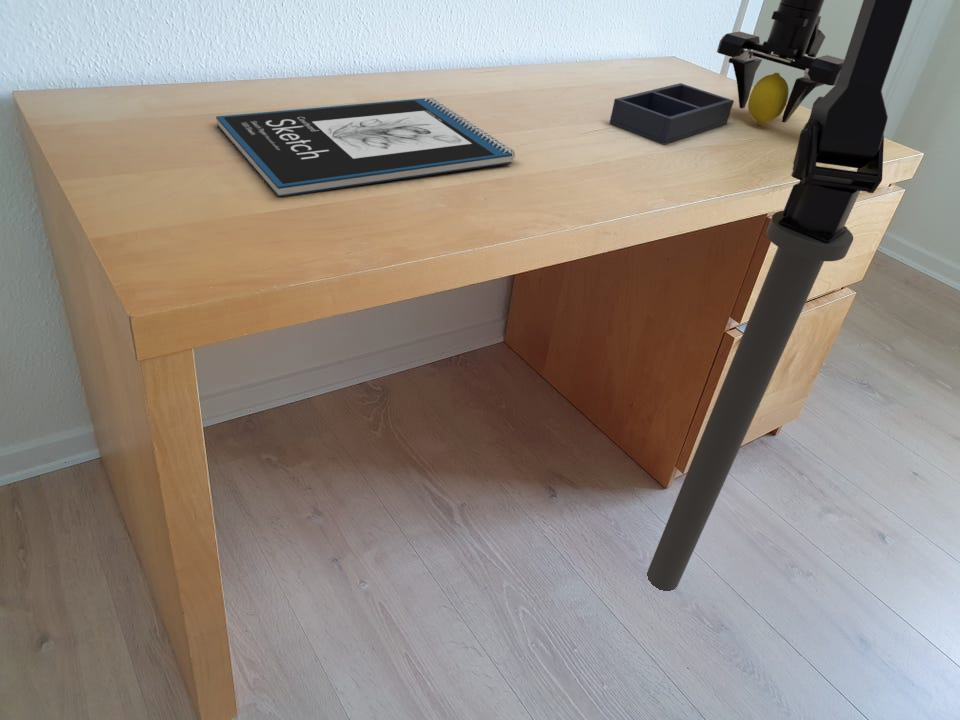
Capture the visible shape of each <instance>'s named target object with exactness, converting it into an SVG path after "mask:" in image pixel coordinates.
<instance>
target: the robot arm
mask: <svg viewBox="0 0 960 720" xmlns="http://www.w3.org/2000/svg"><path fill="white" fill-rule="evenodd" d="M824 2H825V0H780V2H779V4H778V7H777V10H774V11H773V13H772V15H771V20H773V22H772V26H771V29H770V32H769V35H768V38H767V40H764V41H763V43H761V41H760V36H758V35H756V34H755V35H754V34H751V33H747V32H743V31H740V30H739V31H734V32H728V33H725V34H724V35H723V36H722V37H721V39H719V42H718V45H717V49H716V53H718V54H719V55H722V56H723V55H724V56H726V57H730V58H728V63H729V64H732V66H733V71H734V75H735V80H736V84H737V85H736V87H737V96H738V97H737V98H738V105H739V109H741V110H742V109H745V108H746V106H747V104H748V103H747V102H749V98H750V94H751V92H752V86H753V83H754V80H755V75H756V73H757V70H758V69H759V67H760V65H761V63H762V61H763V60H766V61H770V62H773V63H777V64H779V65H780V64H781V65H784V66H787V67H791V68H795V69H798V70H801V71H804V73H803V74H804V75H803V76H802V77H797V78H796V79H795V81H794V84H793V86H792V89H791V92H790V95H789V96H788V100H787V103H786V106H785V108H784V110H783V115H782V119H781V123H783V124H784V123H787V122H788V121H789V120H790V118H791V117H792V116H793V114H794V113H795V111H796V110H797V109H798V108H799V106H800V105H801V104H802V103H803V101H804V100H805V99H806V97H808V95H809V94H811V92H812V91H814V89H816V88H817V87H822V86H825V85H826V86H832V88H831V89H830V90H829V91H828V92H827V93H826V94H825V95H823V96H818V97H817V98H816V99H815V100H814V101H813V103H812V107H811V111H810V115H809V117H808V120H807V122H806V123H805V125H804V126H803V129H802V130H801V131H800V133H799V137H798V143H797V147H796V151H795V155H794V159H793V166H792V172H791V177H792V178H793V179H796V180H799V182H797V183H796V184H793V186H792V188H791V191H790V193H789V196H788V198H787V201H786V203H785V206H784V208H783V210H784V211H783V210H782V211H783V213H782V214H783V216H785V217H784V218H782V219H780V220H779V223H778V224H779V225H781V226H784V227H786V228H789V229H791V230H794V231H796V232H798V233H801V234H803V235H806V236H808V237H811V238H813V239H815V240H818V241H820V242H823V243H826V244H828V243H830V242H831V241H833V240H834V239H836V238H837V237H839V236H840V235H842V234H843V233H845V232H846V230H847V229H848V227H847V226H846V224H847V221H848V219H849V217H850V215H851V212H852V211H853V208H854V206H855V204H856V201H857V199H858V197H859V196H860V193H861V192H866V193H868V194H874V193H875V191H876V190H877V188H878V187H879V186H880V184H881V183H882V181H883V168H884V149H885V148H884V147H885V146H884V143H885V135H884V134H885V130H886V128H887V123H888V119H889V116H888V112H887V108H886V104H885V100H884V96H883V95H884V94H883V87H884V84H885V81H886V79H887V76H888V73H889V71H890V67H891V64H892V61H893V58H894V56H895V53H896V50H897V47H898V44H899V42H900V38H901V35H902V32H903V30H904V26H905V24H906V21H907V18H908V15H909V12H910V9H911V6H912V4H913V0H862V3H861V7H860V10H859V13H858V16H857V19H856V23H855V26H854V28H853V32H852V35H851V38H850V40H849V45H848V47H847V50H846V54H845V57H844V58H839V57H836V56H832V55H829V54H826V55H822V56H818V57H817V55H818V54H819V51H820V50H821V48H822V46H823V43H824V41H825V40H826V35H825V34H824V32H822V31H821V29H819V25H820V23H821V18H822V16H821V15H820V14H821V10H822V9H823V5H824ZM817 164H823V165H831V166H836V167H837V166H838V167H846V168H852V169H857V170H856V171H855V170H848V169H840V168H834V167H827V166H819V165H817Z"/></svg>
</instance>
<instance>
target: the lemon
mask: <svg viewBox="0 0 960 720" xmlns="http://www.w3.org/2000/svg"><path fill="white" fill-rule="evenodd" d="M789 89H790V88H789V84H788V83H787V81H786V79H785V78H784V77H782V76H781V74H780V73H779V72H774V73H772V74H768V75H765V76H763V77H761V78H760V79H758V80H757V82H756V83H755V85H754V86H753V88H752V89H751V91H750V94H749V98H748V103H747V107H748V108H747V109H748V113H749V115H750V117H751V118H752V119H754V120H755V122H756V125H757V126H762V125H764V124H766V123H769V122H772V121H774V120H776V119H777V118H779V117H780V116H781V114H782V113H783V112H784V111H785V108H786V105H787V103H788V100H789V91H790V90H789Z"/></svg>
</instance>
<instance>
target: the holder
mask: <svg viewBox="0 0 960 720" xmlns="http://www.w3.org/2000/svg"><path fill="white" fill-rule="evenodd" d="M734 102H735V100H733V99H731V98H728V97H725V96H723V95H722V96H721V95H718V94H715V93H712V92H710V91H706V90H703V89H700V88H696V87H694V86H691V85H687V84H684V83H681V82H680V83H675V84H671V85H666V86H662V87H659V88H654V89H651V90H647V91H642V92H638V93H634V94H630V95H626V96H622V97H617V98H615V99H614V102H613V106H612V110H611V115H610V119H609V124H610V125H611V126H614V127H616V128H620V129H623V130H625V131H628V132H630V133H634V134H635V135H638V136H641V137H643V138H646V139H649V140H652V141H654V142H657V143H659V144H661V145H668V144H670V143H673V142H676V141H679V140H683V139H686V138H689V137H691V136H694V135H697V134H700V133H704V132H706V131H710V130H712V129H715V128H718V127H721V126H724V125H727V124H728V121H729V118H730V114H731V111H732V109H733V105H734Z"/></svg>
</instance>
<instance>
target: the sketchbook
mask: <svg viewBox="0 0 960 720" xmlns="http://www.w3.org/2000/svg"><path fill="white" fill-rule="evenodd" d="M215 118H216V119H215V120H216V126H217V127H218V128H219V129H220V131H222V133H223V134H224V135H225V136H226V137H227V139H228V140H229V141H230V142H231V143H232V144H233V146H234V147H235V148H236V149H237V150H238V151H239V153H240V154H241V155H242V156H243V157H244V158H245V160H246V161H247V162H248V163H249V164H250V166H251V167H252V168H253V169H254V170H255V171H256V172H257V173H258V174H259V176H260V177H261V178H262V180H263V181H264V182H265V183H266V184H267V185H268V186H269V187H270V189H271V190H272V191H273V192H274V193H275V195H277V197H278V198H280V197H281V198H282V197H288V196H295V195H301V194H307V193H315V192H322V191H328V190H336V189H342V188H349V187H356V186H363V185H371V184H377V183H378V184H379V183H383V182H384V183H385V182H390V181H398V180H405V179H411V178H419V177H425V176H432V175H438V174H446V173H452V172H458V171H459V172H460V171H465V170H467V171H468V170H472V169H479V168H480V169H481V168H487V167H493V166H501V165H508V164H512V162H513V161H514V159H515V157H516V151H515V150H514V149H513V147H510V146H508V145H507V144H506V143H504V142H503V141H501V140H499V139H498V138H496V137H494V136H493V135H492V134H490V133H488V132H487V131H485V130H484V129H482V128H481V127H479V126H478V125H476V124H474V123H473V122H472V121H470V120H468V119H467V118H465V117H463V116H462V115H461V114H459V113H457V112H456V111H454V110H453V109H451V108H450V107H448V106H447V105H445V104H444V103H442V102H441V101H439V100H437V99H436V98H434V97H433V96H427V97H424V98H423V97H422V98H411V99H400V100H391V101H390V100H389V101H377V102H367V103H354V104H343V105H332V106H330V105H329V106H321V107H320V106H319V107H307V108H296V109H295V108H294V109H286V110H285V109H284V110H273V111H262V112H261V111H260V112H251V113H250V112H249V113H239V114H228V115H217V116H215Z"/></svg>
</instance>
